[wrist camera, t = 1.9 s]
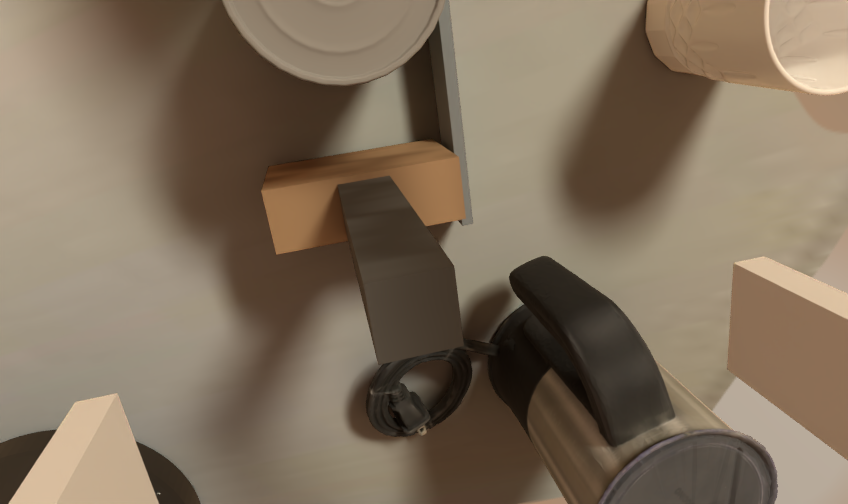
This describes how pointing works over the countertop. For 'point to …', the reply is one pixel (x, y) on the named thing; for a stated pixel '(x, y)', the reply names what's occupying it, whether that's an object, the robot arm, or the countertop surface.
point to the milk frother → (590, 403)
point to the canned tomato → (335, 35)
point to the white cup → (755, 42)
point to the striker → (380, 235)
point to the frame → (449, 98)
